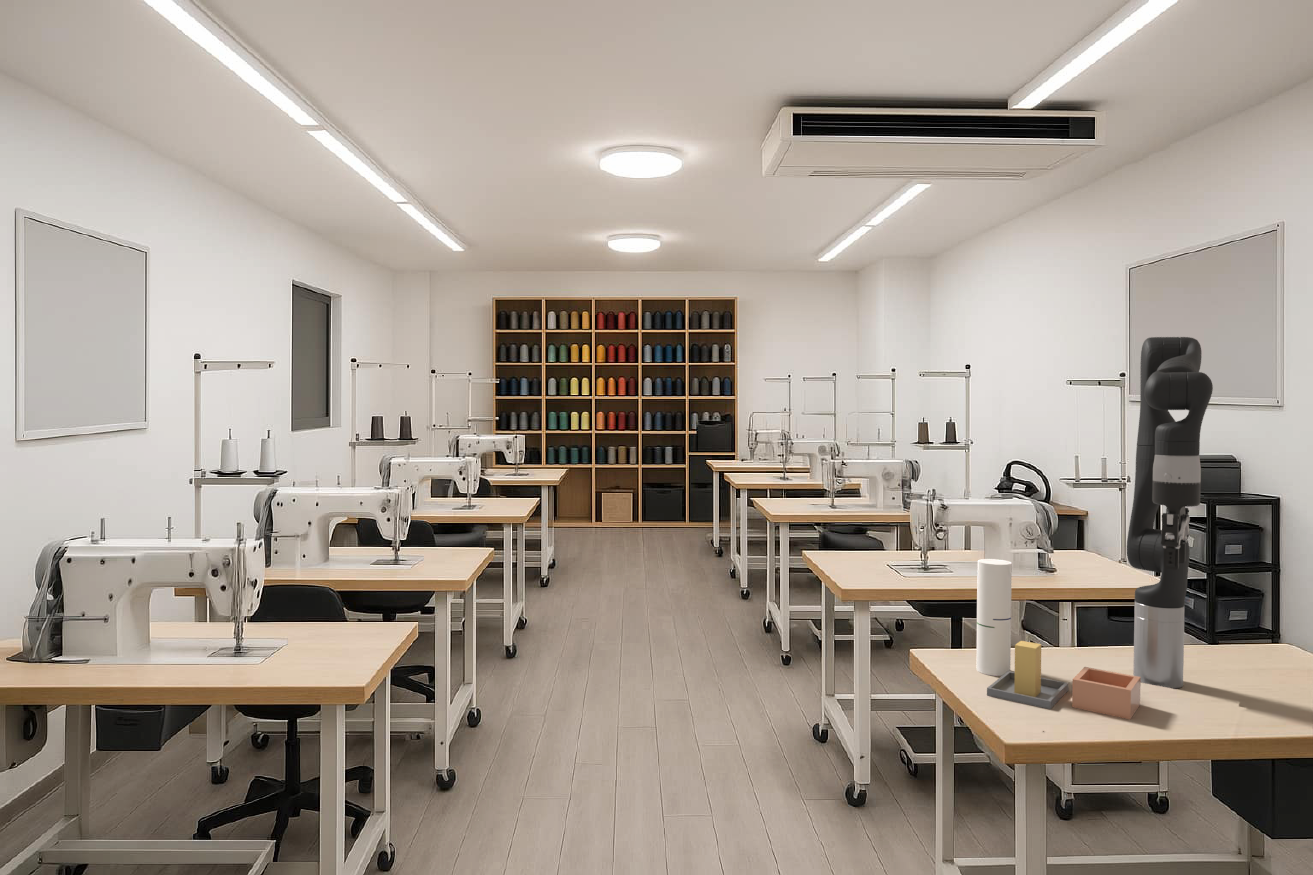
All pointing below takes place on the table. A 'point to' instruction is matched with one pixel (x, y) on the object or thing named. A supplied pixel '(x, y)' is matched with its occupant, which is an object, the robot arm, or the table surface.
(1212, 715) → the table surface
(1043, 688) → the grey tray
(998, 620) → the cylindrical container
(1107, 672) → the terracotta storage bin
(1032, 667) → the ochre block
